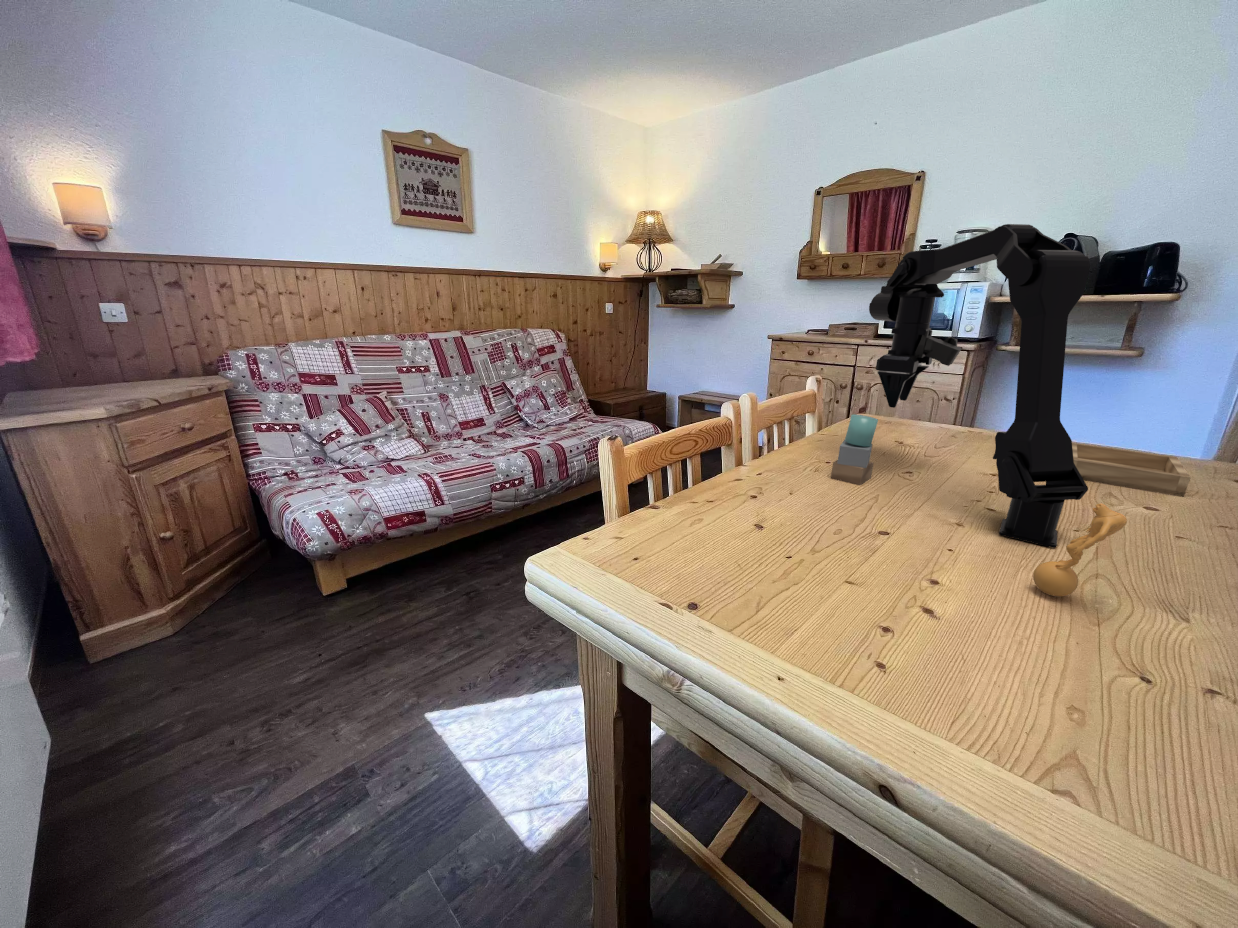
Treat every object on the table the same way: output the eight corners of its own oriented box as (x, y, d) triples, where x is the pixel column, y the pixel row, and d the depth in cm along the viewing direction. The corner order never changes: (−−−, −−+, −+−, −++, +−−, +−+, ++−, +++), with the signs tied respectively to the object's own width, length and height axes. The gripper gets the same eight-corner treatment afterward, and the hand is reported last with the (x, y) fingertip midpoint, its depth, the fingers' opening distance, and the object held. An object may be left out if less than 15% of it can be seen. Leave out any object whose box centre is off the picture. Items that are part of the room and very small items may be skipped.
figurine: (1038, 574, 63) (1065, 485, 59) (1102, 595, 58) (1136, 500, 55) (1020, 599, 58) (1048, 502, 54) (1089, 623, 53) (1125, 520, 49)
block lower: (859, 486, 93) (862, 468, 92) (830, 479, 97) (833, 462, 96) (870, 479, 97) (873, 462, 96) (842, 472, 100) (844, 456, 99)
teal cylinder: (871, 448, 92) (878, 421, 90) (844, 442, 93) (851, 416, 92) (870, 443, 96) (877, 418, 94) (844, 438, 97) (851, 413, 96)
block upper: (866, 468, 92) (869, 450, 91) (837, 463, 95) (839, 445, 94) (869, 461, 96) (872, 443, 95) (841, 456, 99) (844, 439, 98)
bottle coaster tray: (1183, 496, 88) (1190, 477, 87) (1064, 476, 98) (1069, 459, 96) (1170, 474, 99) (1176, 456, 98) (1064, 458, 109) (1069, 442, 108)
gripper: (954, 326, 83) (935, 417, 88) (969, 322, 97) (952, 402, 102) (882, 324, 90) (868, 409, 95) (905, 320, 104) (892, 395, 109)
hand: (897, 403), depth 100 cm, fingers open, 9 cm apart
